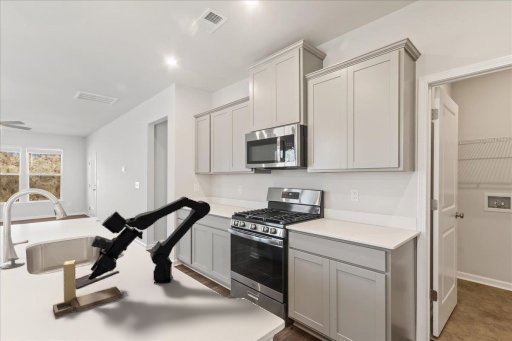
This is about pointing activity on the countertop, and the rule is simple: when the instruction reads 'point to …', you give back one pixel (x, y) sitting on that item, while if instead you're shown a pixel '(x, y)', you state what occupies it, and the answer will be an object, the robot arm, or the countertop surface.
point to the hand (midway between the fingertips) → (90, 274)
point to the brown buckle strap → (87, 301)
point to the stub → (69, 280)
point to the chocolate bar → (85, 281)
